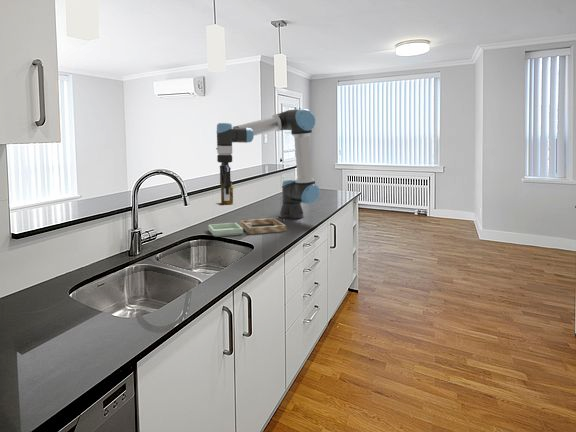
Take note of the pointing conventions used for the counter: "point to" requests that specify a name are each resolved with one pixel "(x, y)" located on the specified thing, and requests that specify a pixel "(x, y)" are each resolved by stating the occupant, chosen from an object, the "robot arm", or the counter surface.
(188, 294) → the counter surface
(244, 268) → the counter surface
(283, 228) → the brown wooden tray
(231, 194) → the condiment
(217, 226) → the green tray
